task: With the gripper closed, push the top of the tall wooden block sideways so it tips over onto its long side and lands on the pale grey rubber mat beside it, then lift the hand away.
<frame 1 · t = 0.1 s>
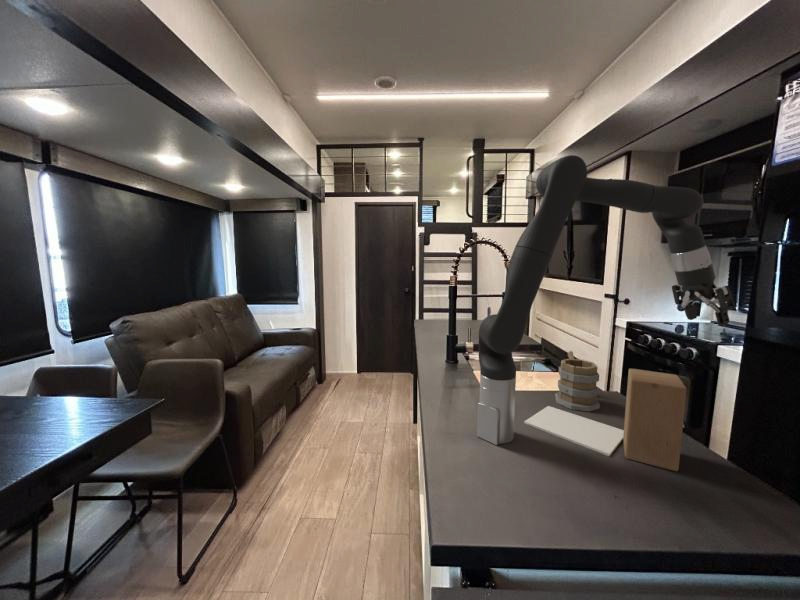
hand: (707, 321, 87), 31 cm above the kitchen island, tool tilted 20°, fingers open, 8 cm apart
tankard: (574, 399, 113), on the kitchen island
wooden block: (648, 455, 79), on the kitchen island
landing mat: (574, 428, 92), on the kitchen island
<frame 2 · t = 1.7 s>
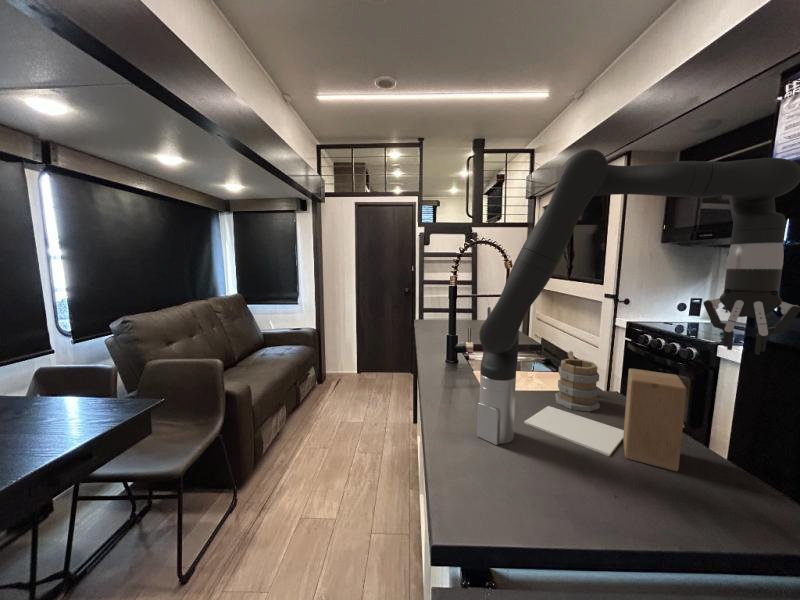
hand: (743, 350, 66), 29 cm above the kitchen island, tool pointing down, fingers open, 3 cm apart
nothing on the kitchen island moved.
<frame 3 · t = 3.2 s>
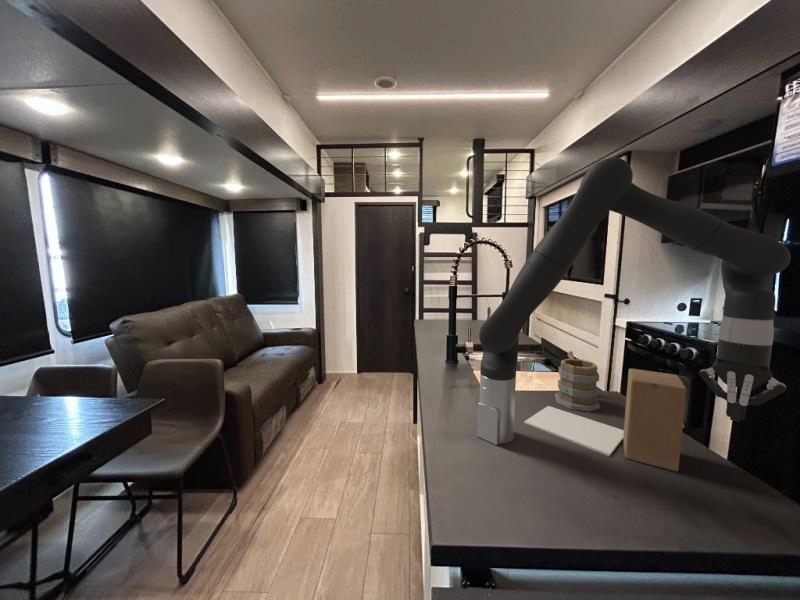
hand: (735, 419, 68), 14 cm above the kitchen island, tool pointing down, fingers closed
nothing on the kitchen island moved.
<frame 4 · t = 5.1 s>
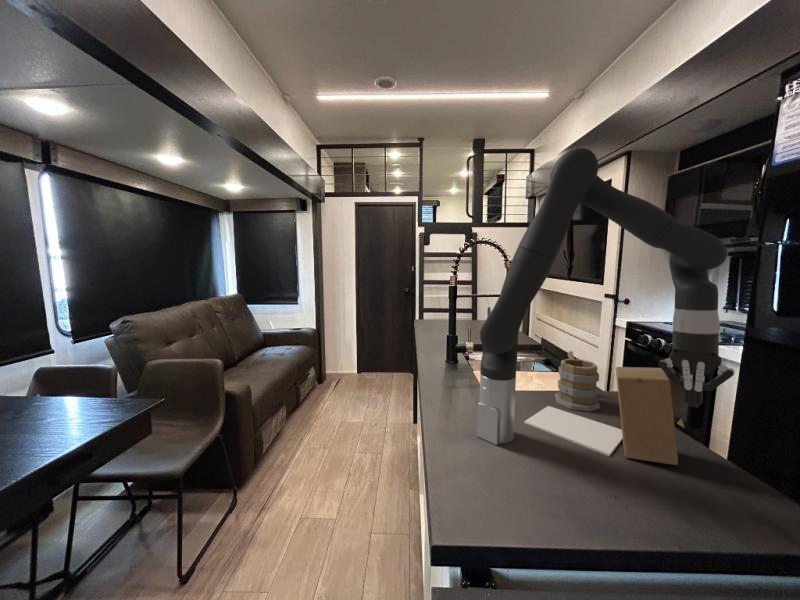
hand: (693, 405, 72), 15 cm above the kitchen island, tool pointing down, fingers closed
wooden block: (648, 452, 79), point 1 cm above the kitchen island, touching hand
everything else where it was.
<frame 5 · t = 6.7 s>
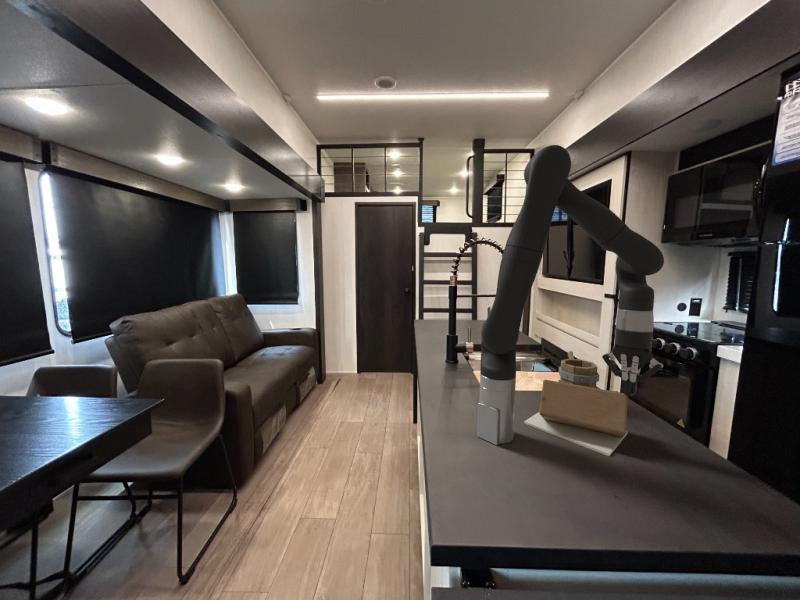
hand: (628, 394, 82), 14 cm above the kitchen island, tool pointing down, fingers closed
wooden block: (626, 416, 84), point 7 cm above the kitchen island, touching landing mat
everything else where it was.
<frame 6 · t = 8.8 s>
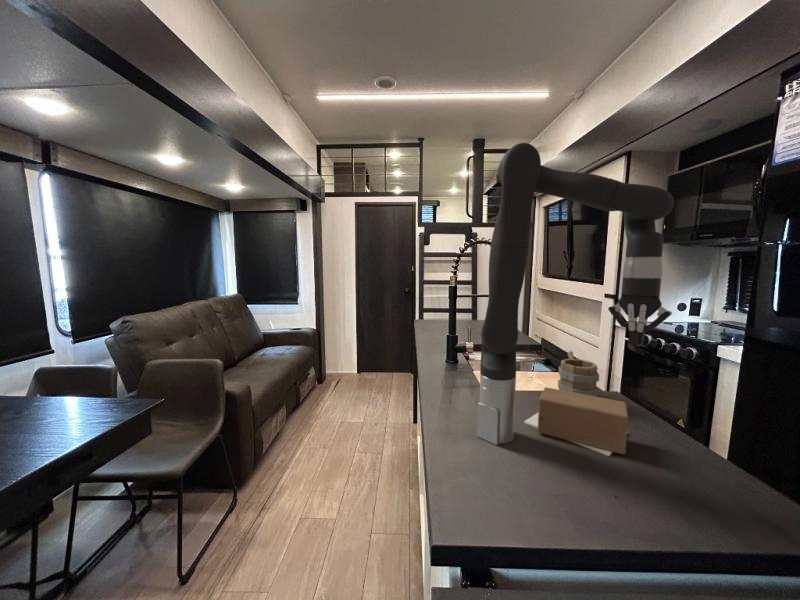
hand: (635, 345, 80), 27 cm above the kitchen island, tool pointing down, fingers closed
wooden block: (626, 427, 82), point 6 cm above the kitchen island, touching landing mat
everything else where it was.
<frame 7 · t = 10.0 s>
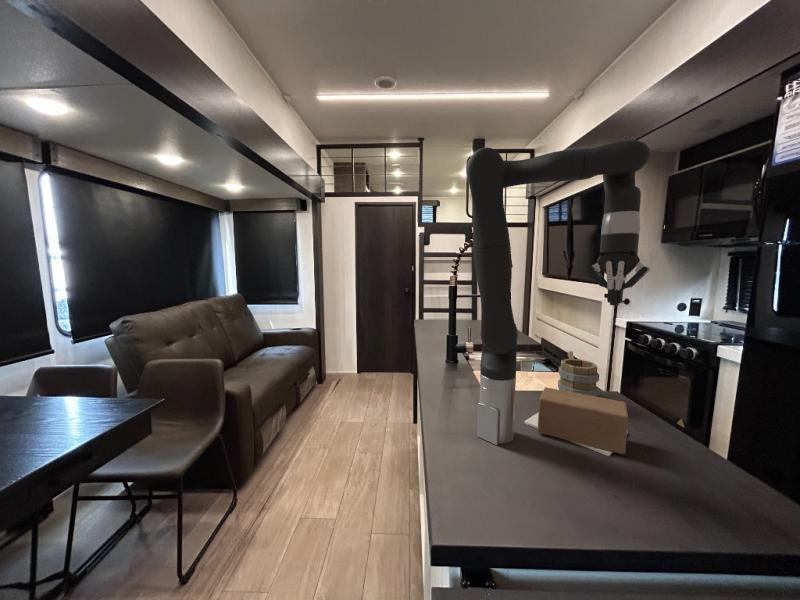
hand: (614, 305, 78), 37 cm above the kitchen island, tool pointing down, fingers closed
nothing on the kitchen island moved.
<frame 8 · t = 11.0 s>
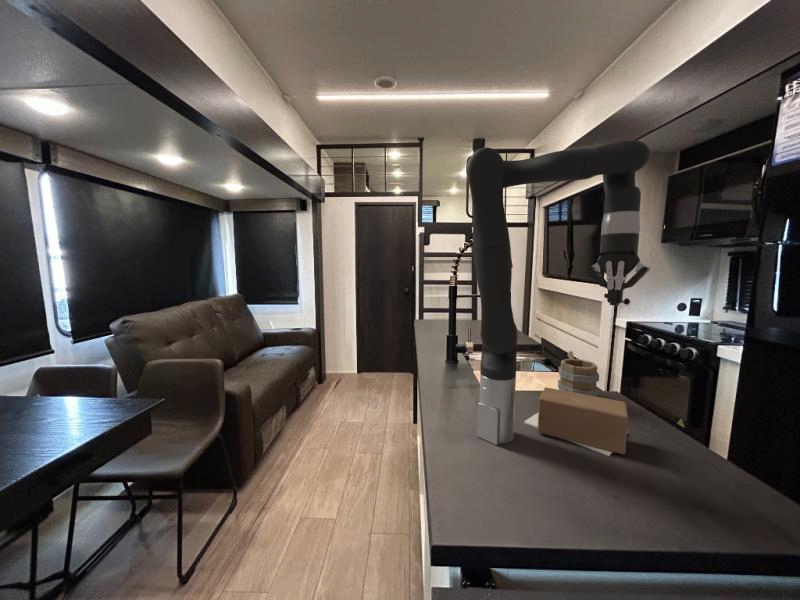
hand: (614, 305, 78), 37 cm above the kitchen island, tool pointing down, fingers closed
nothing on the kitchen island moved.
at the end: wooden block tilted 90°; wooden block touching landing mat; wooden block inside the target area (3.3 cm from its centre), point 5.6 cm above the kitchen island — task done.
